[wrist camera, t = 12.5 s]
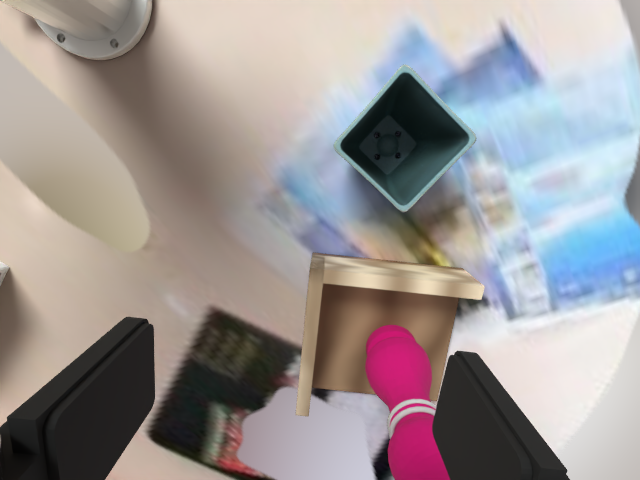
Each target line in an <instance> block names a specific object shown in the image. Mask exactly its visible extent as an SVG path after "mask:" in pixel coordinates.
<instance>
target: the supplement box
mask: <svg viewBox="0 0 640 480" xmlns="http://www.w3.org/2000/svg"><path fill="white" fill-rule="evenodd" d="M8 270H9V266H7V265H6V264H4V263H3V262H1V261H0V285H1V283H2V281H3V279H4V277H5V275H6V273H7V271H8Z"/></svg>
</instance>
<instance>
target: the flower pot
mask: <svg viewBox="0 0 640 480" xmlns="http://www.w3.org/2000/svg"><path fill="white" fill-rule="evenodd" d="M397 131H399V132H400V136H396V135H395V134H396V132H397ZM375 133H379V137H378V138H376V137H375ZM475 141H476V136H475V134H474V132H473V131H472V130H471V129H470V128H469V127H468V126H467V125H466V124H465V123H464V122H463V121H462V120H461V119H460V118H459V117H458V116H457V115H456V114H455V113H454V112H453V111H452V110H451V109H450V108H449V107H448V106H447V105H446V104H445V103H444V102H443V101H442V100H441V99H440V98H439V97H438V96H437V95H436V93H434V92H433V90H432V89H431V88H430V87H429V86H428V85H427V84H426V83H425V82H424V81H423V80H422V79H421V78H420V77H419V76H418V74H417V73H416V72H415V71H414V70H413V69H412V68H411V67H409V66H408V65H402V66H401V67H400V68H399V69H398V70H397V71H396V73H395V74H394V75H393V76H392V77H391V79H390V80H389V81H388V82H387V83H386V85H385V86H384V87H383V88H382V89H381V90H380V92H379V93H378V94H377V95H376V96H375V97H374V99H373V100H372V101H371V102H370V103H369V104H368V106H367V107H366V108H365V109H364V110H363V111H362V112H361V113H360V115H359V116H358V117H357V118H356V119H355V120H354V121H353V122H352V124H351V125H350V126H349V127H348V128H347V129H346V130H345V131H344V132H343V134H342V135H341V136H340V137H339V138H338V139H337V140H336V141H335V143H334V149H335V151H336V152H337V153H338V154H339V155H340V156H342V157H343V158H344V159H345V160H346V161H347V162H348V163H349V164H350V165H352V166H353V167H354V168H355V169H356V170H357V171H358V172H359V173H360V174H361V175H363V176H364V177H365V178H366V179H367V180H368V181H369V182H370V183H371V184H372V185H373V186H374V187H375V188H376V189H377V190H379V191H380V192H381V193H382V194H383V195H384V196H385V197H386V198H387V199H388V200H389V201H390V202H391V203H392V204H393V205H394V206H395V207H396V208H397V209H398V210H399V211H401V212H406V211H408V210H409V209H410V208H411V207H412V206H413V205H414V204H415V203H416V202H417V201H418V200H419V199H420V198H421V197H422V196H423V195H424V194H425V193H426V192H427V191H428V189H429V188H430V187H432V186H433V184H434V183H435V182H436V181H437V180H438V179H439V178H440V177H441V176H442V175H443V174H444V173H445V172H446V171H447V170H448V169H449V168H450V167H451V166H452V165H453V164H454V163H455V162H456V161H457V160H458V159H459V158H460V157H461V156H462V155H463V154H464V153H465V152H466V151H467V150H468V149H469V148H471V146H472V145H473V144H474V143H475ZM397 153H399V154H400V157H399V158H396V156H395V155H396V154H397ZM376 154H378V155H379V158H378V159H375V155H376Z"/></svg>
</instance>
